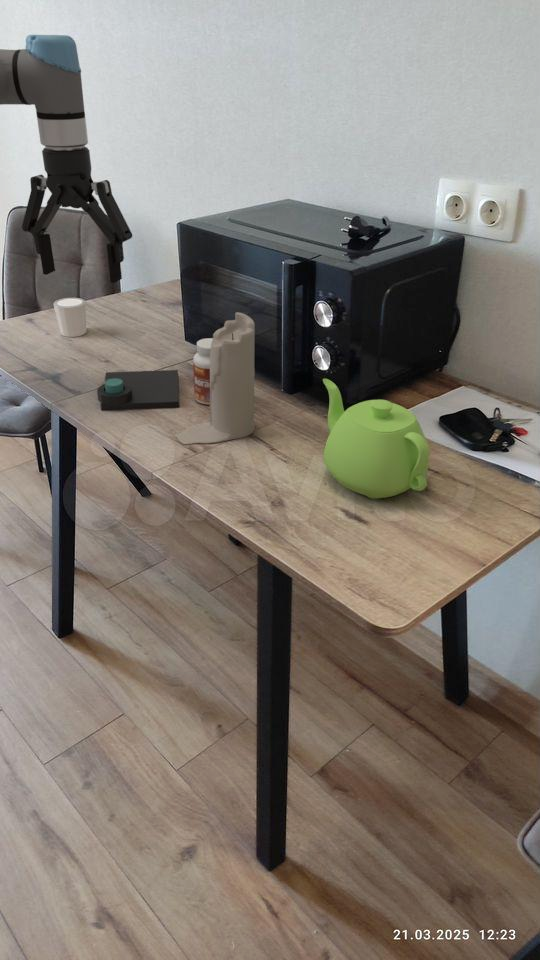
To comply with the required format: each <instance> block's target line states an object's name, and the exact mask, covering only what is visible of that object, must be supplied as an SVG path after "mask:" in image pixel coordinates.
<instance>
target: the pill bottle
mask: <svg viewBox="0 0 540 960" xmlns="http://www.w3.org/2000/svg"><path fill="white" fill-rule="evenodd" d="M212 340H213V337H211V338H209V337H208V338H201V339H199V340H198V341H196V353H195V354H194V356H193V359H192V366H193V367H192V368H193V395H194V399H195V401H196V402H197V403H199V404H201V405H207V406H210V352H211V343H212Z"/></svg>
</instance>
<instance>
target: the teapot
mask: <svg viewBox="0 0 540 960" xmlns="http://www.w3.org/2000/svg"><path fill="white" fill-rule="evenodd" d="M322 382H323V384H324V386H325V388H326V390H327V392H328V398H329V404H328V412H327V428H328V431H329V434H328V436H327V440H326V443H325V446H324V450H323V461H324V462H323V463H324V465H325V467H326V468H327V470H328V471H329V473H330V474H331V476H333V477H334V479H335V480H336V481H337V482H338V483H339V484H340V485H342V486H343V487H345V488H346V489H348V490H350V491H353V492H356V493H357V494H360V495H363V496H366V497H367V498H369V499H373V500H379V499H381V498H390V497H394V496H397V495H400V494H403V493H404V492H406V491H408V490H410V489H411V490H413V491H415V492H416V491H417V492H420V491H423V490H425V489H426V487H427V486H428V480H427V478H426V477H425V476H426V474H427V472H428V470H429V464H430V452H431V449H430V445H429V443H428V441H427V440H426V439H427V438H426V436H425V434H424V432H423V429H422V426H421V423H420V422H419V420H418V418H417V417H416V415H415V414H414V413H413V412H412V411H410V410H409V409H407V408H406V407H404V406H402V405H399V404H397V403H394V402H392V401H389V400H388V399H387V400H386V399H369V400H363V401H361V402H358V403H356V404H353V405H351V406H349V407H347V409H346V410H345V409H344V404H343V398H342V394H341V392H340V389H339V387H338V386H337V385H336V383H334V382H333V381H332V380H330V379H328V378H322Z"/></svg>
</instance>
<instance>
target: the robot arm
mask: <svg viewBox="0 0 540 960" xmlns="http://www.w3.org/2000/svg"><path fill="white" fill-rule="evenodd" d="M25 37H26V38H25V48H21V49H20V48H19V49H5V48H4V49H3V48H0V105H2V106H3V105H25V106H31V105H34V107H35V111H36V120H37V127H38V134H39V143H40V144H41V145H42V146H44V147H43V148H42V150H41V154H42V161H43V167H44V171H45V173H46V175H47V176H46V177H45V176H44V174H38V175H35V176H31V177H30V180H29V181H30V193H29V197H28V201H27V204H26V209H25V213H24V217H23V221H22V224H21V229H22V231H23V232H25V233H27V232H28V233H30V234H31V235H32V236H33V238H34V239H33V240H34V246H35V251H36V254H37V255H39V257H40V263H41V269H42V275H45V276H47V275H49V274H52V273H53V272H55V271H56V265H55V260H54V254H53V247H52V239H51V234H50V233H47V232H48V231H47V230H48V228H49V226H50V224H51V223H52V222H53V220H54V218H55V216H56V214H57V213H58V211H59V209H60V208H61V207H62V208H69V207H71V208H73V209H80V208H81V209H82V211H83V212H85V213H86V214H88V216H89V217H90V219H91V220H92V221H93V222H94V224H95V225H96V226H97V227H98V229H99V230H100V231H101V233H102V234H103V235H104V236H105V237H106V238H107V240H108V242H110V243H107V244H106V252H107V261H108V263H107V264H108V270H109V281H110V283H111V284H115V283H117V282H119V281H120V280H122V279H123V276H122V266H121V263H122V262H124V261H125V260H124V259H125V255H124V246H123V245H124V244H123V243H125V242H127V241H129V240H131V239H132V238H133V233H132V231H131V229H130V227H129V225H128V223H127V221H126V219H125V217H124V215H123V213H122V211H121V208H120V207H119V205H118V203H117V201H116V199H115V197H114V195H113V192H112V191H113V190H112V188H111V187H112V186H111V182H110V181H109V180H108V179H104V180H101V181H94V180H93V178H92V162H91V161H92V160H91V153H90V152H91V151H90V149H89V148H88V147H87V146H86V145H88V144H89V138H88V128H87V118H86V111H85V101H84V94H83V93H84V92H83V84H82V83H83V82H82V81H83V80H82V68H81V67H80V59H79V54H78V48H77V43H76V41H75V40H74V38H73V37H72V36H70V35H67V34H29V35H27V36H25ZM47 189H48V191H49V192H50V194H51V195H50V196H49V198H48V199H47V201H46V205H45V207H44V208H43V210H42V209H41V208H42V205H43V201H44V198H45V193H46V190H47ZM93 193H94V194H95V195H96V196H98V200H99V201H100V203H101V205H102V208H103V209H102V208H101V206H100V203H99V201H98V200H97V199H96V197H95V196H94V195H93ZM41 210H42V212H41ZM40 213H41V214H40Z"/></svg>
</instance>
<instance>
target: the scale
mask: <svg viewBox="0 0 540 960" xmlns="http://www.w3.org/2000/svg"><path fill="white" fill-rule="evenodd" d="M113 378H117V379H121V380H122V381H123V389H124V390H123V391H122V392H120V393H114V394H110V393H106V390H105V381H106V380H108V379H113ZM179 389H180V388H179V370H178V369H167V370H165V369H164V370H161V369H160V370H136V371H107V372H105V377H104V383H103V384H101V385H100V386H98V387H97V390H96V395H97V401H98V402H100V410H101V411H117V410H118V411H119V410H140V409H141V410H142V409H143V410H144V409H167V408H180V392H179V391H180V390H179Z"/></svg>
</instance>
